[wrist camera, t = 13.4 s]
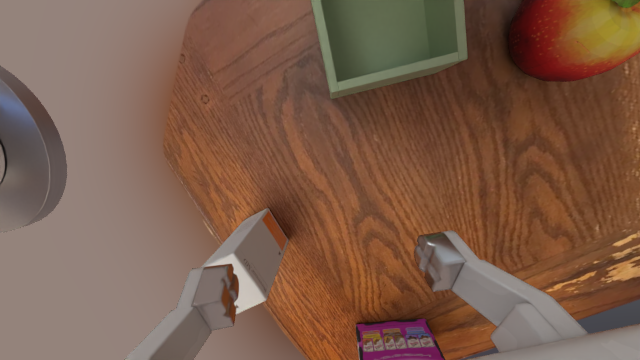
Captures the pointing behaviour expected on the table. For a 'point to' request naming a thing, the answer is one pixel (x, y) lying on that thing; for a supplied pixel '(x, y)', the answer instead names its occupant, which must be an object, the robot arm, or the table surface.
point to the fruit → (573, 37)
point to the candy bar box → (397, 341)
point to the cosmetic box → (253, 257)
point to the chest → (387, 40)
